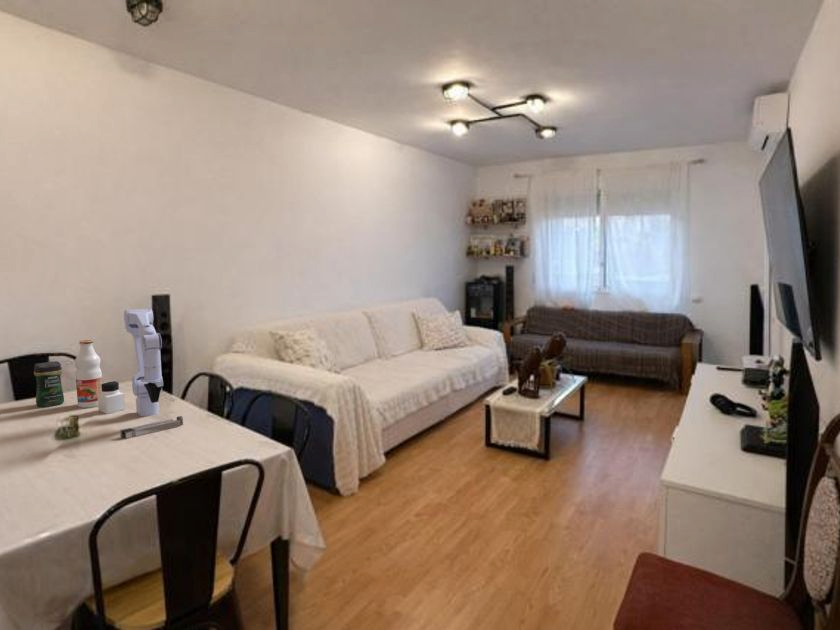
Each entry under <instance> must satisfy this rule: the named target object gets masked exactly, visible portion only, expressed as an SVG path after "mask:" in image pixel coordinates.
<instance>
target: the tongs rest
mask: <svg viewBox="0 0 840 630" xmlns="http://www.w3.org/2000/svg"><path fill="white" fill-rule="evenodd" d="M183 425H184V420H183V416H182V415H179V416H177V417H176V420H174V419H173V421H170V422H165V423H161V424H156V425H152V426H147V427H143V428H138V429H134V430H129V431H125V432H124V438H123V439H126V440H127V439H131V438H134V437H140V436H144V435H148V434H153V433H156V432H161V431H166V430H169V429H174V428H179V427H181V426H183Z"/></svg>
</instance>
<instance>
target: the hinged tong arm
mask: <svg viewBox="0 0 840 630" xmlns="http://www.w3.org/2000/svg"><path fill="white" fill-rule="evenodd" d="M170 421H174V419H173V418H170V419H169V418H168V419H165V420H164V419H163V420H160V421H156V422H151V423H146V424H142V425H138V426H133V427H128V428H125V429H120V430H119V431H120V437H121V439H125V438H124V432H125V431H129V430H134V429H138V428H143V427H147V426H152V425H156V424H161V423H165V422H170Z"/></svg>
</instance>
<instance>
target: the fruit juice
mask: <svg viewBox="0 0 840 630" xmlns="http://www.w3.org/2000/svg"><path fill="white" fill-rule="evenodd" d="M79 346H80V350H79V352H78V355H77V357H76V358H75V359H74V365H75V367H76V372H75V386H76V396H77V397H76V398H77V405H78V406H77V407H79V408H80V409H81V408H83V409H88V408H95V407H98V394H102V387H101V385H102V384H103V383H104V382H103V373H102V369H101V361H102V360H101V357H100V356H99V355H98V354H97V353H96V351H95V349H94V340H93V339H85V340H83V339H82V340H79Z"/></svg>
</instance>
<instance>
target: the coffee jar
mask: <svg viewBox="0 0 840 630" xmlns="http://www.w3.org/2000/svg"><path fill="white" fill-rule="evenodd" d="M33 367H34V368H33V375H34V377H35V378H36V379H35V381H36V395H35V405H36V406H37V407H39V408H45V407H46V408H47V407H48V408H49V407H54V406H57V405H62V404H63V403H65V396H64V392H63V386H62V381H61V377H62V376H61V375H62V372H63V368H62V363H61V362H59V361H55V360H54V361H46V362H40V363H35V364H34V366H33Z"/></svg>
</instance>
